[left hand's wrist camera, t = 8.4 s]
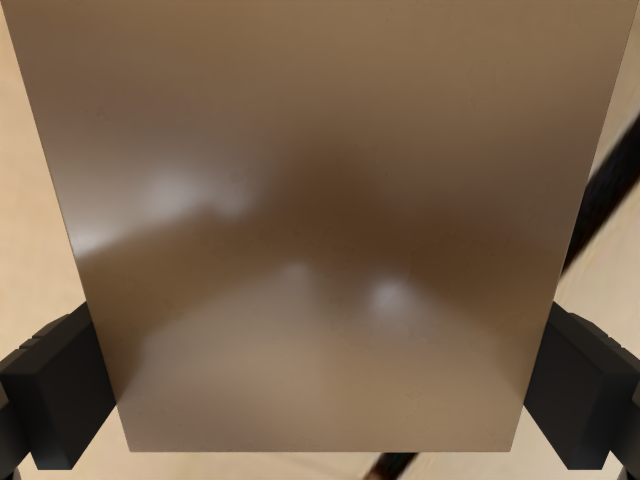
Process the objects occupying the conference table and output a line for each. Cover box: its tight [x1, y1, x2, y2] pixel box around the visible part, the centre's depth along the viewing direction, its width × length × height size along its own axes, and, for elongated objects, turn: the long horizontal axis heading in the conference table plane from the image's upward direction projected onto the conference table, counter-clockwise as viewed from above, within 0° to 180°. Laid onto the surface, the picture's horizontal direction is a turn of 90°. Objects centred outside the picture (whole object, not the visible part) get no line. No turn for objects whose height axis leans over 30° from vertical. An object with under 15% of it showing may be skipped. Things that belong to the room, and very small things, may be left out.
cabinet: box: [0, 0, 639, 452], centre depth 12 cm, size 17×11×11 cm, turn 0°
